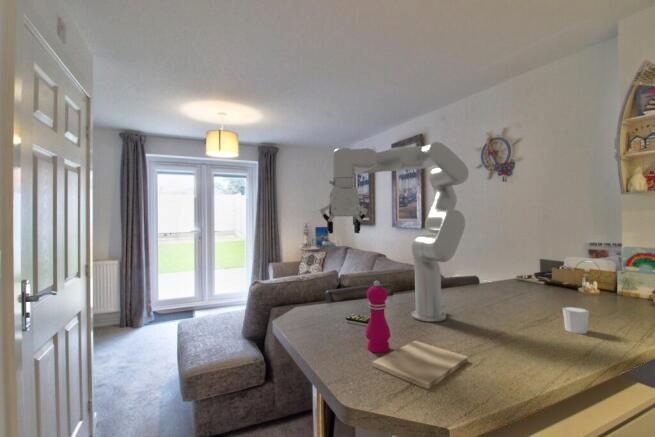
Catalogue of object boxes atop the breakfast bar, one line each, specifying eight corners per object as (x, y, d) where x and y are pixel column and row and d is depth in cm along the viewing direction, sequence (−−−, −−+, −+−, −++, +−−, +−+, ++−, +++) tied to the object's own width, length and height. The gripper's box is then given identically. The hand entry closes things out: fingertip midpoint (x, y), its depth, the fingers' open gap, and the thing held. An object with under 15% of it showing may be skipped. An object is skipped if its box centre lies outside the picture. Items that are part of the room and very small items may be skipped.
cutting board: (414, 344, 96) (414, 340, 96) (467, 361, 84) (467, 356, 84) (372, 366, 82) (372, 361, 82) (428, 389, 70) (428, 384, 70)
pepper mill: (393, 345, 95) (391, 279, 95) (387, 355, 88) (385, 283, 89) (370, 342, 98) (368, 277, 98) (362, 351, 91) (361, 282, 92)
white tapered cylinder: (583, 328, 106) (583, 307, 106) (593, 335, 100) (592, 313, 100) (559, 326, 109) (559, 305, 109) (567, 333, 102) (567, 311, 102)
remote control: (375, 328, 111) (375, 323, 111) (344, 323, 118) (344, 317, 118) (382, 323, 116) (382, 318, 116) (352, 318, 123) (352, 313, 123)
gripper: (322, 182, 105) (322, 233, 104) (371, 183, 109) (371, 233, 109) (317, 184, 112) (317, 233, 112) (362, 186, 117) (362, 232, 116)
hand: (343, 233), depth 110 cm, fingers open, 9 cm apart
